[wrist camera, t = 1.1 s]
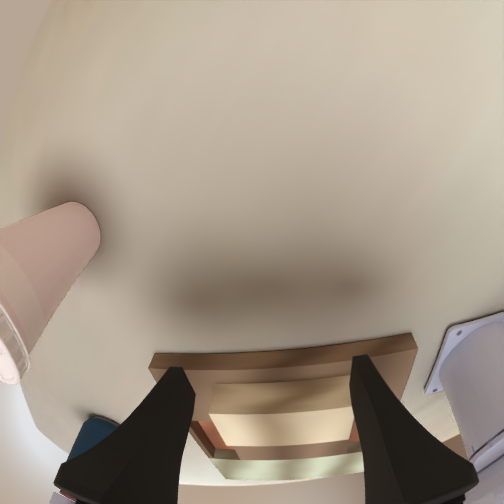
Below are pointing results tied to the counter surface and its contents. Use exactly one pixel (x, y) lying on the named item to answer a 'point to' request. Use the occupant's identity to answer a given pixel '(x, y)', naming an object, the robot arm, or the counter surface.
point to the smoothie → (39, 277)
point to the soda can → (90, 438)
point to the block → (283, 412)
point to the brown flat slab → (284, 370)
